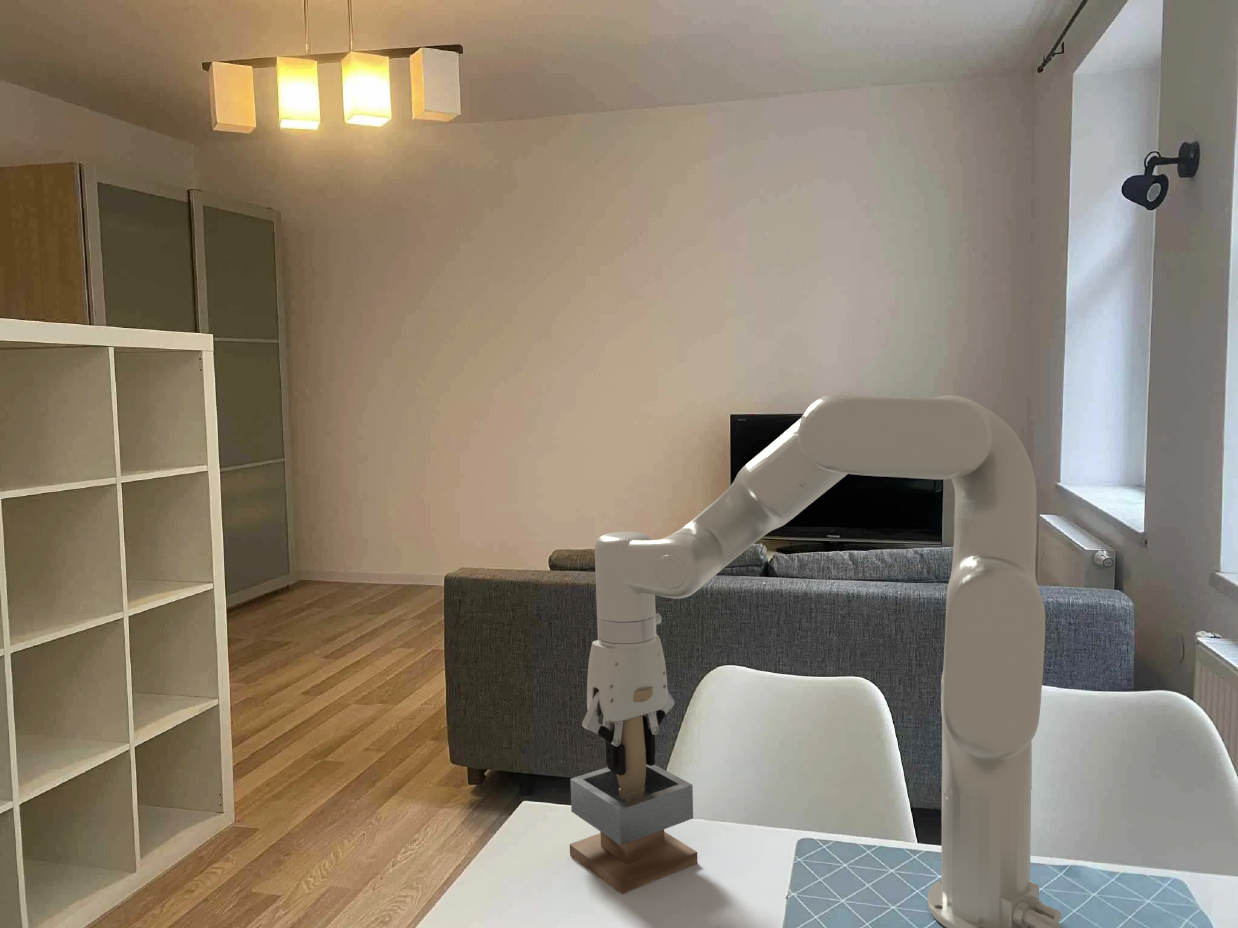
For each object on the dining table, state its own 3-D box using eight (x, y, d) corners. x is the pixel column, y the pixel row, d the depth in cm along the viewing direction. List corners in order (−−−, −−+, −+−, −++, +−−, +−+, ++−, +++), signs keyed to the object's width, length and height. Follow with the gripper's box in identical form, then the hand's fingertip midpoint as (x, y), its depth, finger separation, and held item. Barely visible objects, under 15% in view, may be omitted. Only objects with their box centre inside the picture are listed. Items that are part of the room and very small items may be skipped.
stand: (697, 862, 121) (696, 818, 120) (621, 893, 114) (620, 846, 114) (642, 827, 131) (641, 786, 130) (569, 854, 124) (568, 811, 124)
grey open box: (693, 818, 121) (692, 784, 120) (620, 845, 114) (619, 809, 114) (641, 788, 130) (640, 756, 130) (571, 811, 123) (570, 778, 123)
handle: (650, 807, 119) (647, 692, 117) (602, 802, 120) (598, 689, 119) (660, 791, 123) (657, 680, 122) (614, 786, 125) (610, 677, 124)
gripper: (661, 612, 128) (664, 742, 129) (555, 634, 118) (561, 774, 120) (696, 623, 121) (699, 759, 123) (587, 647, 112) (593, 794, 114)
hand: (631, 765), depth 121 cm, fingers closed on handle, 4 cm apart
